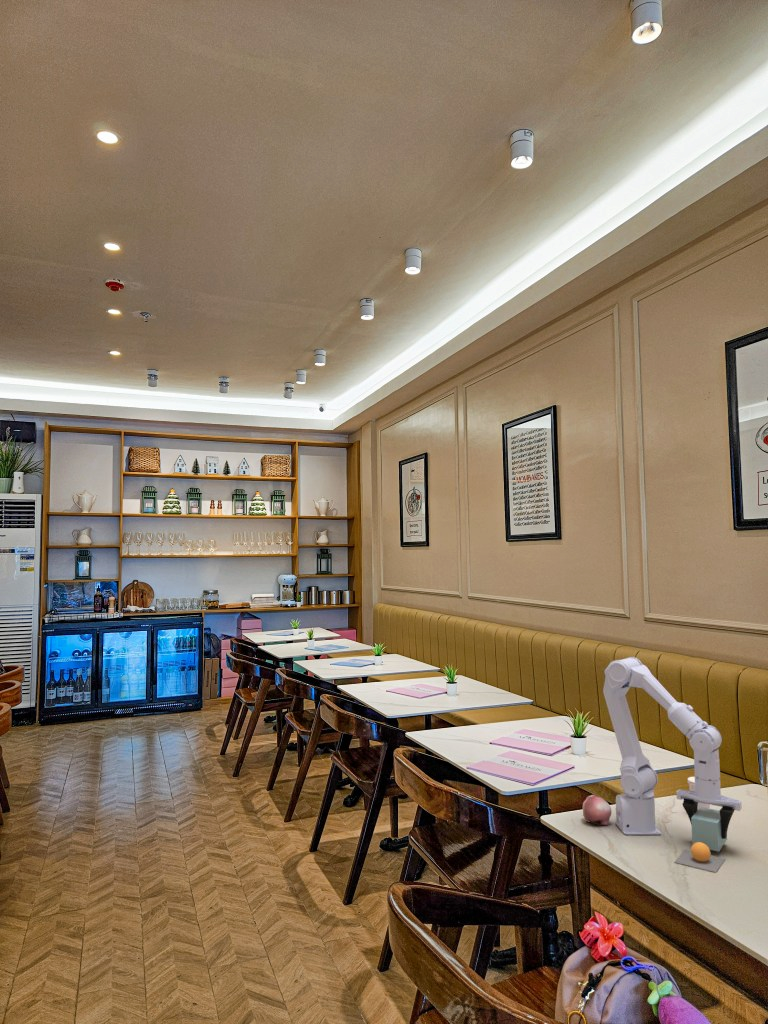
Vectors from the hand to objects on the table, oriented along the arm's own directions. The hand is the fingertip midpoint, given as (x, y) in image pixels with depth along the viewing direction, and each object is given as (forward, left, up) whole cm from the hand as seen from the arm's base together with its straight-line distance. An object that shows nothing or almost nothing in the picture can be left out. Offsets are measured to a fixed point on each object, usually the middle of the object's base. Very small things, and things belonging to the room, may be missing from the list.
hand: (709, 834), depth 171 cm
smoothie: (+7, +22, -3) cm, 23 cm away
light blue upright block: (0, 0, -2) cm, 2 cm away
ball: (-6, -8, -1) cm, 10 cm away
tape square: (-6, -8, -3) cm, 10 cm away
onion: (-23, +17, -3) cm, 29 cm away
